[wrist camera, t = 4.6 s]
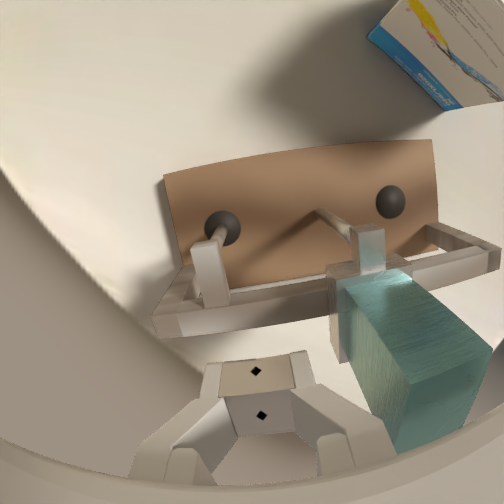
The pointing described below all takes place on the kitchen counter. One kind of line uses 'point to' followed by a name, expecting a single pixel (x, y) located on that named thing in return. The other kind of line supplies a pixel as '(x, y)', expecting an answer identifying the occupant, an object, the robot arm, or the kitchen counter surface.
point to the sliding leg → (400, 340)
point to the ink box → (448, 48)
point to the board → (301, 231)
